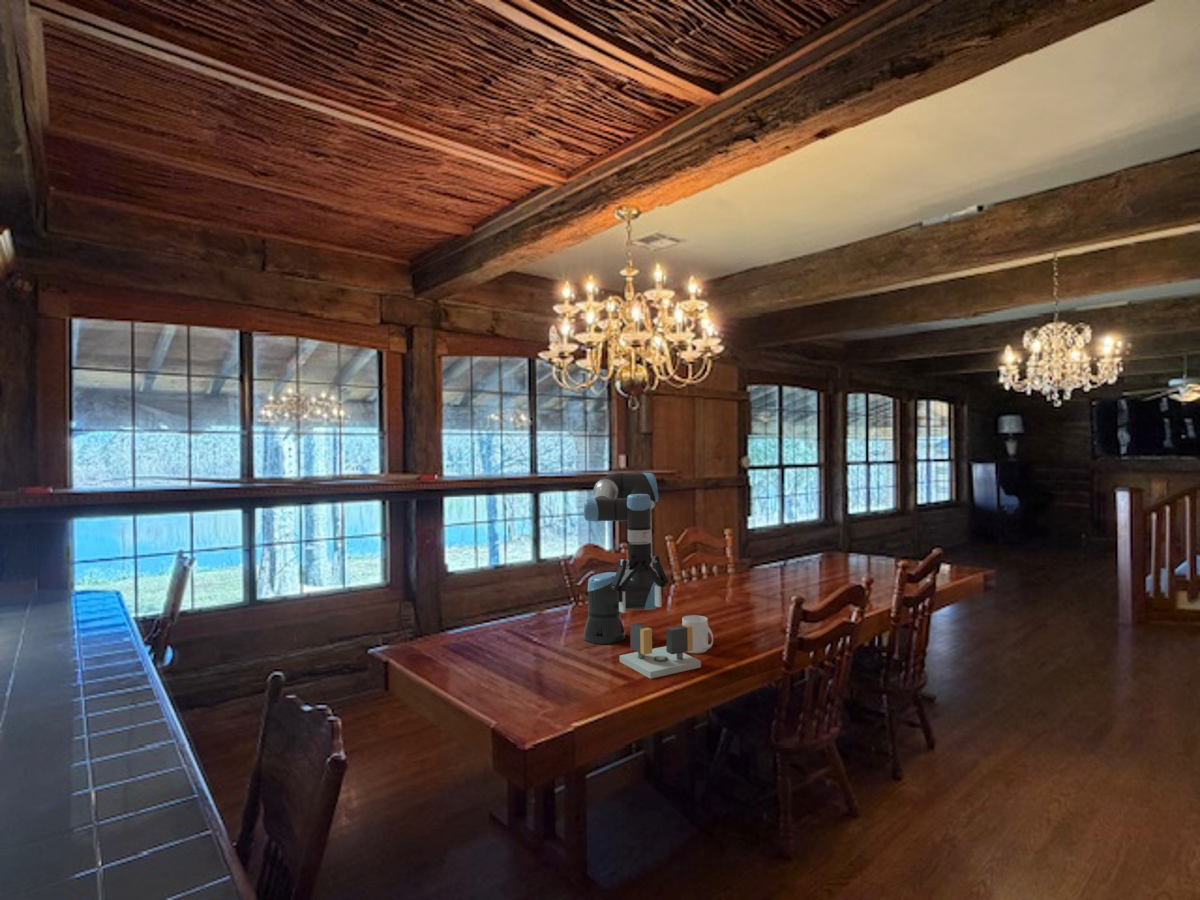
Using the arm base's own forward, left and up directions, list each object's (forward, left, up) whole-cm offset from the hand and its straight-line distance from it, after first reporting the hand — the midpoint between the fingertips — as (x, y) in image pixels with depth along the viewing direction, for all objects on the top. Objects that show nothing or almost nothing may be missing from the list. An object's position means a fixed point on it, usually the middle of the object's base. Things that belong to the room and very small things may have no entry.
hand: (640, 609), depth 203 cm
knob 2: (+7, +10, -16) cm, 20 cm away
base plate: (+3, +5, -18) cm, 19 cm away
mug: (-1, +24, -18) cm, 30 cm away
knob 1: (0, 0, -16) cm, 16 cm away
